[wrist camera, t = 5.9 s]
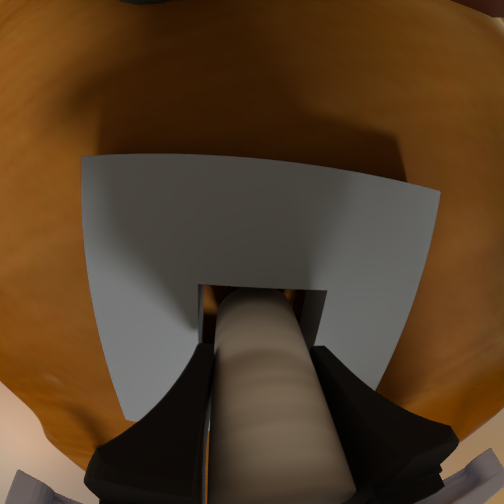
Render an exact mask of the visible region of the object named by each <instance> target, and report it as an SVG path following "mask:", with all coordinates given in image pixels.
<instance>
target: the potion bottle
mask: <svg viewBox="0 0 504 504" xmlns="http://www.w3.org/2000/svg"><path fill="white" fill-rule="evenodd" d="M120 1H121V2H128V3H134V4H144V3H151V2H159V1H163V0H120Z"/></svg>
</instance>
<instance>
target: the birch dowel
mask: <svg viewBox="0 0 504 504" xmlns="http://www.w3.org/2000/svg"><path fill="white" fill-rule="evenodd" d="M355 492H356V487H355V484H354V481H353V478H352V475H351V472H350V469H349V466H348V463H347V460H346V457H345V454H344V451H343V448H342V445H341V443H340V440H339V437H338V434H337V431H336V428H335V425H334V422H333V419H332V416H331V413H330V411H329V408H328V405H327V402H326V399H325V396H324V394H323V391H322V388H321V385H320V382H319V380H318V377H317V374H316V371H315V368H314V366H313V363H312V360H311V357H310V355H309V352H308V349H307V346H306V344H305V341H304V338H303V335H302V333H301V330H300V327H299V324H298V322H297V319H296V316H295V314H294V311H293V308H292V306H291V303H290V302H289V300H288V299H287V297H286V296H285V295H284V294H283V293H281V292H280V291H278V290H277V289H275V288H256V287H241V288H239V289H237V290H235V291H233V292H232V293H230V294H229V295H228V296H227V297H225V299H224V300H223V301H222V303H221V304H220V306H219V308H218V312H217V320H216V332H215V346H214V366H213V377H212V392H211V410H210V431H209V457H208V497H207V504H342V503H344V502H345V501H347V500H348V499H350V498H351V497H352V496H353V495H354V494H355Z"/></svg>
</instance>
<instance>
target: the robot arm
mask: <svg viewBox="0 0 504 504" xmlns="http://www.w3.org/2000/svg"><path fill="white" fill-rule="evenodd" d="M309 355H310V357H311V360H312V363H313V366H314V368H315V371H316V374H317V377H318V380H319V382H320V385H321V388H322V391H323V394H324V396H325V399H326V402H327V405H328V408H329V411H330V413H331V416H332V419H333V422H334V425H335V428H336V431H337V434H338V437H339V440H340V443H341V445H342V448H343V451H344V454H345V457H346V460H347V463H348V466H349V469H350V472H351V475H352V478H353V481H354V484H355V487H356V492H355V494H354V495H353V496H352V497H351V498H350V499H348V500H347V501H345V502H344V503H342V504H485V503H486V502H487V501H488V500H489V499H491V497H493V496H494V495H495V494H496V493H497V492H499V491H500V490H501V489H502V488H503V487H504V468H503V466H502V465H501V463H500V461H499V460H498V459H497V457H496V455H495V453H494V452H493V450H492V449H491V448H489V449H488V450H486V451H485V452H483V453H482V454H480V455H479V456H477V457H476V458H475V459H473V460H472V461H471V462H470V463H469V464H468V465H467V466H466V467H465V468H464V469H462V470H461V471H459V472H457V473H455V474H454V475H452V476H450V477H448V478H446V479H444V480H442V479H441V477H440V475H439V473H441V472H442V468H441V466H440V464H441V463H442V462H443V461H444V460H445V459H446V458H447V457H448V456H449V455H450V454H451V453H452V452H453V451H454V450H455V449H456V447H457V446H458V444H459V439H458V438H457V436H456V434H455V433H454V431H453V430H452V428H451V426H449V425H445V424H442V423H438V422H435V421H431V420H428V419H426V418H423V417H421V416H418V415H416V414H414V413H411V412H409V411H407V410H405V409H403V408H401V407H400V406H398V405H396V404H394V403H392V402H391V401H389V400H388V399H386V398H384V397H383V396H381V395H380V394H378V393H377V392H376V391H374V390H373V389H372V388H370V387H369V386H368V385H367V384H365V383H364V382H363V381H362V380H361V379H359V378H358V377H357V376H356V375H355V374H354V373H353V372H352V371H350V370H349V369H348V368H347V367H346V366H345V365H344V364H343V363H342V362H341V361H340V360H339V359H338V358H337V357H336V356H335V355H334V354H333V353H332V352H331V351H330V350H329V349H328V348H327V347H326V346H325V345H320V346H311V348H310V352H309ZM213 366H214V344H208V343H199V344H197V346H196V349H195V351H194V353H193V355H192V357H191V359H190V360H189V362H188V364H187V365H186V367H185V369H184V370H183V372H182V373H181V375H180V376H179V378H178V379H177V380H176V382H175V383H174V384H173V386H172V387H171V388H170V390H169V391H168V392H167V393H166V394H165V396H164V397H163V398H162V399H161V400H160V401H159V402H158V403H157V404H156V405H155V406H154V407H153V408H152V409H151V410H150V411H149V412H148V413H147V414H146V415H145V416H144V417H143V418H141V419H140V420H139V421H138V422H137V423H135V424H134V425H133V426H131V427H130V428H129V429H127V430H126V431H124V432H123V433H122V434H120V435H119V436H117V437H116V438H114V439H112V440H110V441H109V442H107V443H105V444H104V445H102V446H100V447H98V448H97V449H96V450H95V452H94V454H93V456H92V458H91V460H90V462H89V464H88V467H87V470H86V474H85V477H84V483H85V485H86V486H87V487H88V489H89V490H90V491H92V493H94V494H95V495H96V496H97V497H98V498H99V499H100V502H99V504H205V463H206V443H207V436H208V429H209V422H210V410H211V392H212V377H213ZM5 504H82V503H79V502H77V501H74V500H72V499H69V498H66V497H65V496H62V495H60V494H58V493H56V492H54V490H52V489H51V488H50V487H49V486H47V485H46V484H45V483H43V482H41V481H39V480H37V479H35V478H34V477H32V476H30V475H28V474H26V473H24V472H23V471H21V470H17V472H16V475H15V477H14V480H13V482H12V485H11V488H10V490H9V493H8V496H7V499H6V502H5Z"/></svg>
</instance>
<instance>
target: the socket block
mask: <svg viewBox="0 0 504 504" xmlns="http://www.w3.org/2000/svg"><path fill="white" fill-rule="evenodd" d="M440 192H441V191H438V190H434V189H430V188H426V187H422V186H418V185H414V184H410V183H406V182H402V181H397V180H393V179H388V178H384V177H379V176H374V175H369V174H364V173H359V172H353V171H348V170H342V169H336V168H330V167H323V166H317V165H310V164H302V163H295V162H286V161H278V160H268V159H258V158H247V157H234V156H218V155H198V154H114V155H94V156H82V157H81V204H82V224H83V237H84V247H85V256H86V265H87V272H88V279H89V285H90V291H91V297H92V303H93V308H94V313H95V318H96V322H97V327H98V331H99V335H100V339H101V343H102V347H103V351H104V355H105V358H106V362H107V365H108V369H109V372H110V375H111V379H112V382H113V385H114V388H115V391H116V394H117V397H118V399H119V402H120V405H121V408H122V410H123V413H124V416H125V418H126V420H130V421H135V422H138V421H139V420H140V419H141V418H143V417H144V416H145V415H146V414H147V413H148V412H149V411H150V410H151V409H152V408H153V407H154V406H155V405H156V404H157V403H158V402H159V401H160V400H161V399H162V398H163V397H164V396H165V394H166V393H167V392H168V391H169V390H170V388H171V387H172V386H173V384H174V383H175V382H176V380H177V379H178V378H179V376H180V375H181V373H182V372H183V370H184V369H185V367H186V365H187V364H188V362H189V360H190V359H191V357H192V355H193V353H194V351H195V349H196V346H197V344H199V343H203V308H204V284H205V285H221V286H237V287H256V288H278V289H304V290H306V292H305V298H304V303H303V308H302V313H301V318H300V322H299V327H300V330H301V333H302V335H303V338H304V341H305V344H306V346H307V349H308V352H310V348H311V346H320V345H325V346H326V347H327V348H328V349H329V350H330V351H331V352H332V353H333V354H334V355H335V356H336V357H337V358H338V359H339V360H340V361H341V362H342V363H343V364H344V365H345V366H346V367H347V368H348V369H349V370H350V371H352V372H353V373H354V374H355V375H356V376H357V377H358V378H359V379H361V380H362V381H363V382H364V383H365V384H367V385H368V386H369V387H370V388H372V389H373V390H374V391H375V390H376V388H377V386H378V384H379V382H380V380H381V378H382V376H383V374H384V372H385V370H386V368H387V366H388V363H389V361H390V359H391V357H392V355H393V352H394V350H395V348H396V345H397V343H398V341H399V338H400V336H401V333H402V331H403V328H404V326H405V323H406V320H407V318H408V315H409V312H410V310H411V307H412V304H413V301H414V298H415V295H416V292H417V289H418V286H419V283H420V279H421V276H422V273H423V269H424V266H425V262H426V258H427V255H428V251H429V247H430V243H431V238H432V234H433V230H434V225H435V220H436V215H437V210H438V204H439V199H440ZM214 346H215V345H214ZM208 431H210V422H209V429H208Z"/></svg>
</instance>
